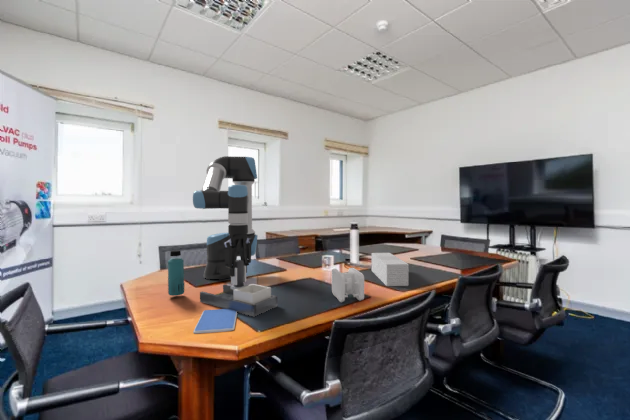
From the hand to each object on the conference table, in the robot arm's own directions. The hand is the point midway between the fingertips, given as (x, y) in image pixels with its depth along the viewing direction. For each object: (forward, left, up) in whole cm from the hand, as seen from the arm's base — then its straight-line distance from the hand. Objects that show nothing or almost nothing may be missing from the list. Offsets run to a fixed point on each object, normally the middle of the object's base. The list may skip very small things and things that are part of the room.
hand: (238, 282), depth 120 cm
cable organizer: (-31, +32, -9) cm, 46 cm away
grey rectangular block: (-73, +36, -9) cm, 82 cm away
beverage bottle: (+8, -30, -9) cm, 32 cm away
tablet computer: (+15, +6, -9) cm, 19 cm away
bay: (0, -1, -9) cm, 9 cm away
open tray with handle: (0, +5, -7) cm, 9 cm away
